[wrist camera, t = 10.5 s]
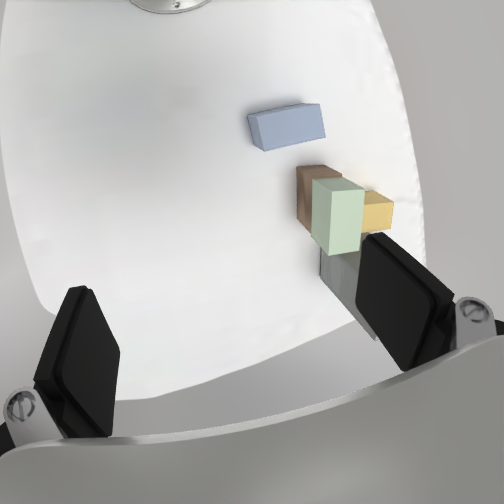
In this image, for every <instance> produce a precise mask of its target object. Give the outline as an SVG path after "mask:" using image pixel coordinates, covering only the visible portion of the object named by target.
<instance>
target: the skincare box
mask: <svg viewBox="0 0 504 504" xmlns="http://www.w3.org/2000/svg"><path fill="white" fill-rule="evenodd" d="M368 234H370V233H368V232H365V233H361V239H360V248H359V251H354V252H348V253H342V254H336V255H330V256H328V255H327V254H326V253H325V251H324V250H323V249H322V248H321V274H320V276H321V279H322V281H323V282H324V283H325V284H326V285H327V286H328V288H329V289H330V290H331V291H332V292H333V293H334V294H335V296H336V297H337V298H338V299H339V300H340V301H341V302H342V304H343V305H344V306H345V307H346V308H347V309H348V311H349V312H350V313H351V314H352V315H353V316H354V318H355V319H356V320H357V321H358V322H359V323H360V325H361V326H362V327H363V328H364V329H365V330H366V332H367V333H368V334H369V335H370V336H371V338H372V339H373V340H374V341H377V340H379V338H378V337H377V335H376V334H375V333H374V331H373V330H372V328H371V327H370V326H369V324H368V323H367V322H366V320H365V319H364V317H363V316H362V315H361V313H360V312H359V311H358V309H357V307H356V304H355V296H356V289H357V282H358V274H359V266H360V257H361V247H362V241H363V240H364V239H365V238H366V236H367V235H368Z"/></svg>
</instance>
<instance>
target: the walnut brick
mask: <svg viewBox="0 0 504 504" xmlns="http://www.w3.org/2000/svg"><path fill="white" fill-rule="evenodd" d="M296 169H297V219H298V220H299V221H300V222H301V223H302V225H303V226H304V227H305V228H306V229H307V230H308V231H309V232H310V233H311V222H312V179H317V178H332V177H342V174H341V173H339V172H337V171H335V170H333V169H331V168H329V167H327V166H325V165H314V166H300V167H296Z"/></svg>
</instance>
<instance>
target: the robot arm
mask: <svg viewBox="0 0 504 504" xmlns="http://www.w3.org/2000/svg"><path fill="white" fill-rule="evenodd" d="M130 1H131V2H132V3H134V4H135V5H137V6H138V7H140V8H142V9H145V10H147V11H151V12H155V13H166V14H170V13H180V12H185V11H189V10H192V9H195V8H198V7H200V6H202V5H204V4H206V3H208V2H209V1H211V0H130ZM175 6H179V7H178V8H174V7H175ZM453 297H454V293H453V292H452V291H451V290H450V289H448V288H447V287H446V286H445V285H444V284H443V283H442V282H441V281H439V279H437V278H436V277H435V276H434V275H433V274H432V273H431V272H429V271H428V270H427V269H426V268H425V267H424V266H423V265H422V264H421V263H419V262H418V261H417V260H416V259H415V258H414V257H412V256H411V255H410V254H409V253H408V252H406V251H405V250H404V249H403V248H402V247H400V246H399V245H398V244H397V243H396V242H394V241H393V240H392V239H391V238H389V237H388V236H387V235H386V234H385V233H383V232H379V233H374V234H368V235H367V236H366V238H365V239H364V240H363V241H362V247H361V257H360V266H359V274H358V282H357V289H356V296H355V304H356V307H357V309H358V311H359V312H360V313H361V315H362V316H363V317H364V319H365V320H366V322H367V323H368V324H369V326H370V327H371V328H372V330H373V331H374V333H375V334H376V335H377V337H378V338H379V340H380V341H381V342H382V344H383V345H384V347H385V348H386V349H387V351H388V352H389V354H390V355H391V356H392V358H393V359H394V361H395V362H396V364H397V365H398V367H399V368H400V369H401V370H402V371H404V373H402V374H399V375H397V376H395V377H392V378H390V379H387V380H385V381H383V382H380V383H377V384H374V385H372V386H369V387H366V388H363V389H361V390H358V391H355V392H352V393H349V394H346V395H343V396H340V397H337V398H334V399H331V400H328V401H324V402H321V403H318V404H314V405H311V406H307V407H304V408H300V409H297V410H293V411H289V412H285V413H281V414H277V415H273V416H269V417H265V418H260V419H256V420H251V421H246V422H241V423H236V424H231V425H224V426H219V427H213V428H206V429H200V430H193V431H185V432H177V433H168V434H157V435H145V436H129V437H109V438H108V436H111V435H112V429H113V416H114V404H115V394H116V384H117V376H118V367H119V360H120V350H119V346H118V344H117V342H116V340H115V338H114V336H113V334H112V332H111V330H110V328H109V326H108V324H107V321H106V319H105V317H104V315H103V313H102V311H101V308H100V306H99V304H98V302H97V299H96V297H95V295H94V292H93V290H92V289H88V288H87V287H86V286H85V285H83V286H77V287H72V288H69V290H68V292H67V294H66V296H65V298H64V300H63V303H62V305H61V307H60V310H59V312H58V314H57V317H56V319H55V321H54V324H53V326H52V329H51V331H50V334H49V337H48V339H47V342H46V344H45V347H44V350H43V352H42V355H41V358H40V361H39V364H38V367H37V370H36V373H35V376H34V379H33V380H34V382H35V385H34V388H31V387H22V388H19V389H17V390H15V391H14V392H13V393H11V394H10V395H9V397H8V398H7V400H6V402H5V404H4V409H3V415H4V419H5V422H4V423H3V424H2V425H1V426H0V504H504V322H502V321H499V320H495V319H494V316H493V312H492V310H491V308H490V307H489V306H488V305H487V304H486V303H485V302H483V301H482V300H480V299H477V298H474V297H462V298H461V299H459V300H458V301H457V303H456V304H455V303H454V302H453V301H452V300H453ZM405 371H406V372H405Z"/></svg>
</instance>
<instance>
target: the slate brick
mask: <svg viewBox="0 0 504 504" xmlns="http://www.w3.org/2000/svg"><path fill="white" fill-rule="evenodd" d="M247 117H248V121H249V125H250V129H251V133H252V137H253V142H254V146H256V147H258V148H259V149H261V150H263V151H264V152H265V151H269V150H273V149H277V148H281V147H285V146H289V145H294V144H298V143H302V142H307V141H312V140H316V139H321V138H326V136H325V130H324V125H323V119H322V114H321V109H320V104H305V103H303V104H297V105H292V106H287V107H282V108H277V109H272V110H267V111H263V112H258V113H254V114H249V115H247Z"/></svg>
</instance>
